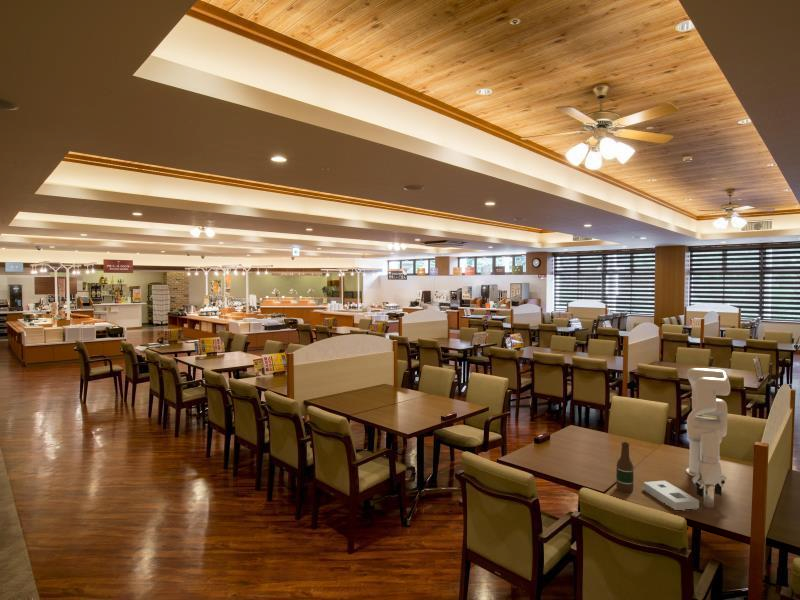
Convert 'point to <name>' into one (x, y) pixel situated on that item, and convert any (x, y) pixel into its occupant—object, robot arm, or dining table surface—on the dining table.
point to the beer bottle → (624, 470)
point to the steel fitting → (709, 495)
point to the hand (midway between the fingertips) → (708, 495)
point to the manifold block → (670, 495)
